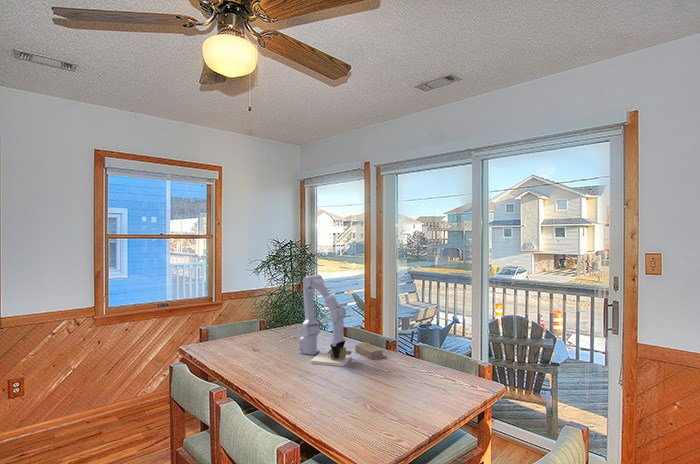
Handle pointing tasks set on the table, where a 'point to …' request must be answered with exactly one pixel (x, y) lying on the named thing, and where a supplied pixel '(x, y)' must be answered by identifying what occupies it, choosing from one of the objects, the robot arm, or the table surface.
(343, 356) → the block
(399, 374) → the table surface
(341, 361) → the board
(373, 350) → the brick
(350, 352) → the mat
